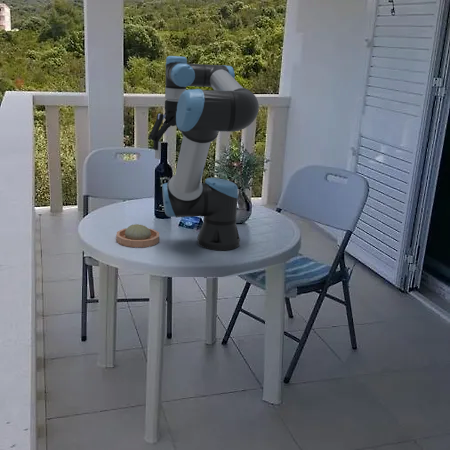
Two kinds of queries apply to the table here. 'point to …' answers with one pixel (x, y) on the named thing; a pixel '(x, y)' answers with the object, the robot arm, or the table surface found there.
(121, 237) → the saucer
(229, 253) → the table surface
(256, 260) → the table surface
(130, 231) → the sea urchin shell
